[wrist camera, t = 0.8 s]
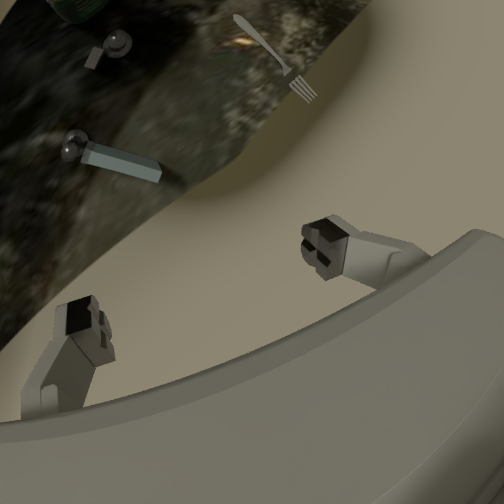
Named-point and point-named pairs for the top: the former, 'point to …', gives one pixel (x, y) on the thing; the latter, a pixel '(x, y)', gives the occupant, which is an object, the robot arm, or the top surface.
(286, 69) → the fork
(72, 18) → the coffee jar
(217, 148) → the top surface
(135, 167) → the grey flat block
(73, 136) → the round knob
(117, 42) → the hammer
